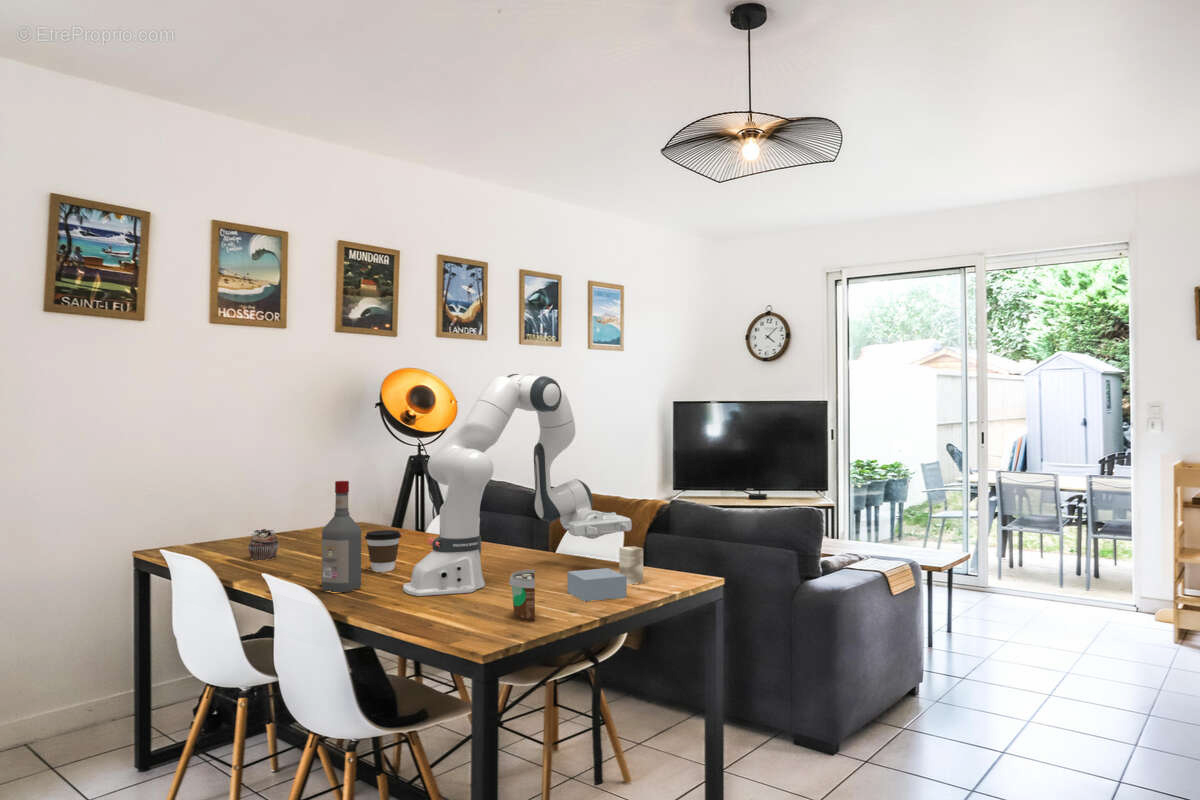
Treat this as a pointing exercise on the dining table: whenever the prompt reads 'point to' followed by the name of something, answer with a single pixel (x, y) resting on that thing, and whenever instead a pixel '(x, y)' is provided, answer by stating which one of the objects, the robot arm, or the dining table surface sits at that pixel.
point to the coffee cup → (383, 549)
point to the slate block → (597, 584)
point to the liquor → (341, 547)
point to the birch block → (631, 564)
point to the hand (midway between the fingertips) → (611, 529)
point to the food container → (523, 594)
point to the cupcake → (263, 545)
